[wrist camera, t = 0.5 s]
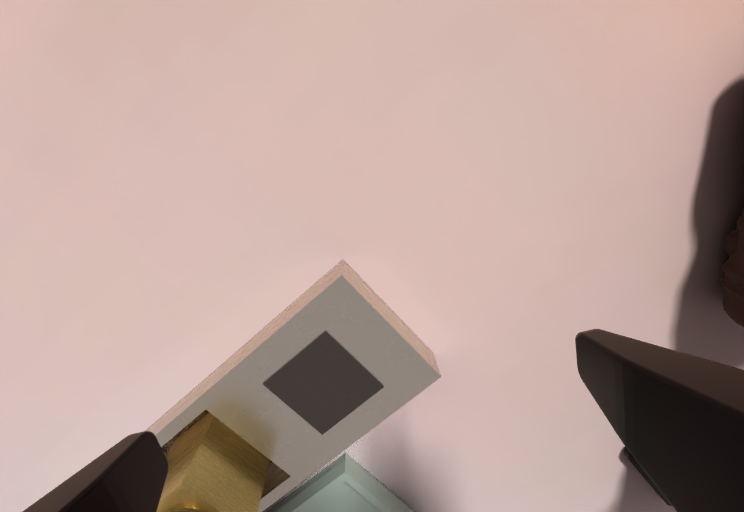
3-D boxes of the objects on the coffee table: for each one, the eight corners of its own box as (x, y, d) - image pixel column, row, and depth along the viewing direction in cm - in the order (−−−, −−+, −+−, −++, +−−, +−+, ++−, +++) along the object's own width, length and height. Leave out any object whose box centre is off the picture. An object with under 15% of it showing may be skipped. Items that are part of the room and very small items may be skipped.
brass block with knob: (274, 442, 25) (245, 559, 18) (227, 480, 26) (181, 605, 19) (222, 400, 24) (169, 507, 17) (173, 441, 25) (104, 559, 18)
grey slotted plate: (432, 351, 24) (441, 377, 21) (170, 554, 27) (152, 595, 25) (343, 259, 21) (341, 275, 19) (74, 492, 25) (44, 531, 23)
